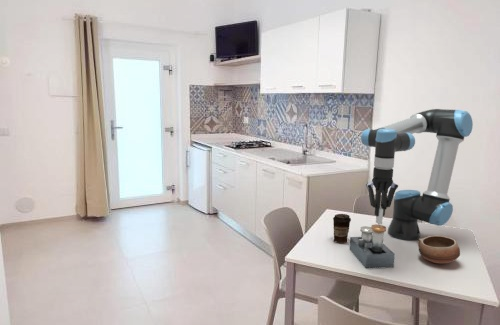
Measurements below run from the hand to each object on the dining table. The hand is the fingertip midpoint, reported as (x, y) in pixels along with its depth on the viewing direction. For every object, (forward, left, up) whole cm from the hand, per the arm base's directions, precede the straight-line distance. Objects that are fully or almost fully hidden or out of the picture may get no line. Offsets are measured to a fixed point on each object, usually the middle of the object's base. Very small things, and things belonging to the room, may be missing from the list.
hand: (378, 223), depth 156 cm
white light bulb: (0, -11, -17) cm, 20 cm away
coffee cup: (+7, -25, -18) cm, 31 cm away
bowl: (-28, -1, -18) cm, 34 cm away
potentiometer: (+4, -6, -12) cm, 14 cm away
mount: (0, -6, -18) cm, 19 cm away
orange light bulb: (0, 0, -12) cm, 12 cm away
